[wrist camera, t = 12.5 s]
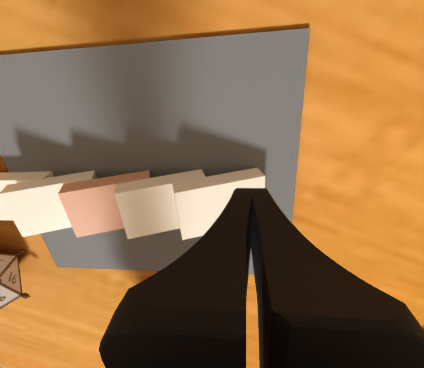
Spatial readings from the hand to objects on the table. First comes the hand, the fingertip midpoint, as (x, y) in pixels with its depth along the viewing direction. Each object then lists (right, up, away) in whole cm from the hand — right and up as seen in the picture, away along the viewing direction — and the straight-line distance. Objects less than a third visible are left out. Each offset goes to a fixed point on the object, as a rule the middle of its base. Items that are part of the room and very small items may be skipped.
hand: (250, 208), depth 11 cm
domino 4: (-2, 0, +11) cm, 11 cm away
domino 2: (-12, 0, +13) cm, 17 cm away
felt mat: (-8, +1, +12) cm, 15 cm away
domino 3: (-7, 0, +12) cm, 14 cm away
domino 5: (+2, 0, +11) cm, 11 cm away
